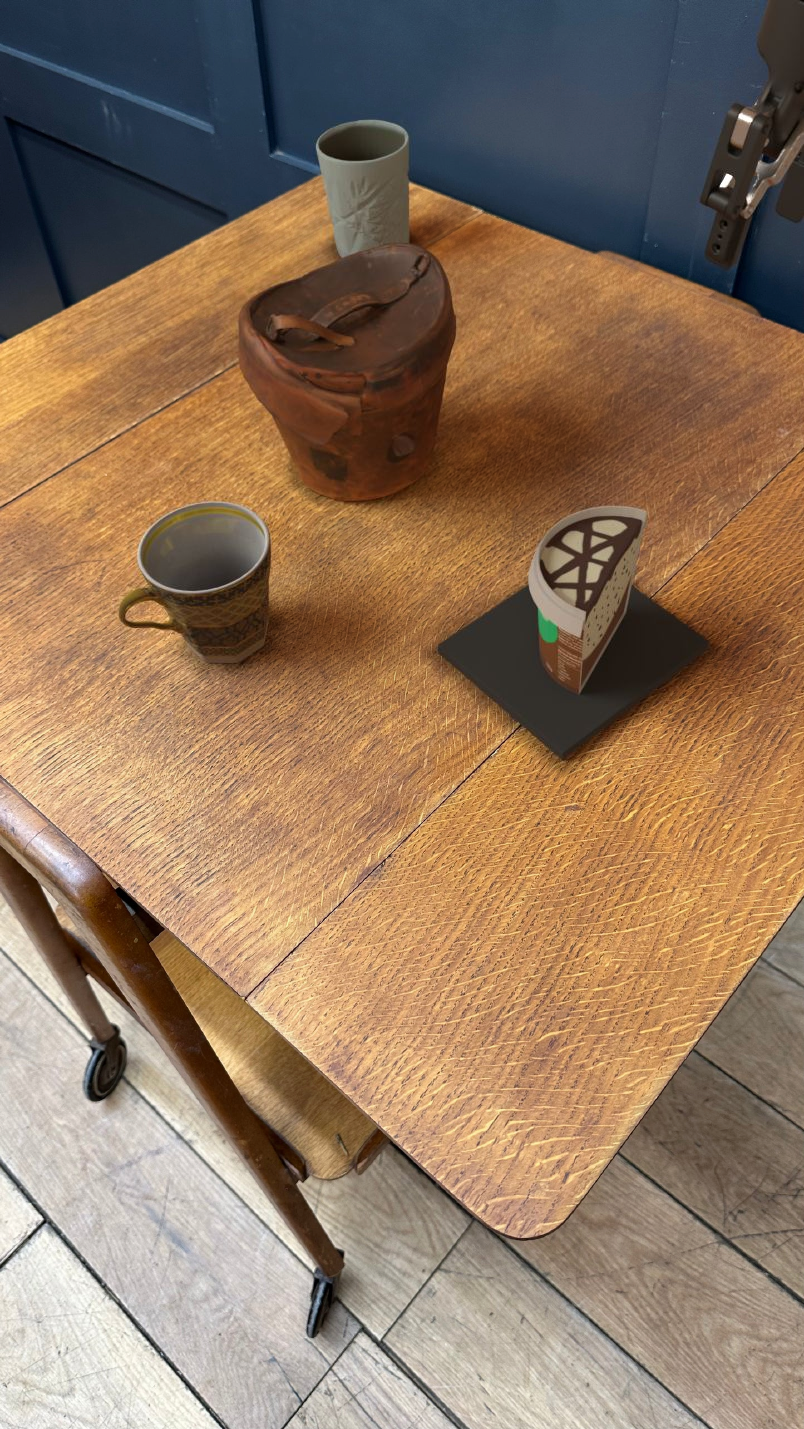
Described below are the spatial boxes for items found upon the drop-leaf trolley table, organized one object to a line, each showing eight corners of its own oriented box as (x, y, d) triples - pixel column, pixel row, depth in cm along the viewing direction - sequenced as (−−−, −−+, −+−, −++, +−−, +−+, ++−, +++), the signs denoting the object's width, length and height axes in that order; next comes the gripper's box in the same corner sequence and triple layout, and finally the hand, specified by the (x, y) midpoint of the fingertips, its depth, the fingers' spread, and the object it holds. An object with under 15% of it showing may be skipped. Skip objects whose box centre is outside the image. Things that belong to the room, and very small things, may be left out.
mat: (580, 557, 88) (581, 549, 87) (708, 649, 81) (710, 641, 80) (437, 652, 82) (437, 644, 81) (562, 760, 75) (563, 752, 75)
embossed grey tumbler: (419, 263, 118) (415, 155, 108) (332, 274, 118) (319, 166, 108) (407, 220, 124) (401, 113, 115) (324, 230, 124) (311, 124, 114)
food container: (562, 576, 85) (572, 482, 77) (632, 601, 83) (649, 506, 75) (496, 679, 79) (499, 588, 71) (571, 708, 77) (582, 617, 69)
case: (225, 504, 94) (181, 329, 80) (325, 381, 105) (302, 207, 91) (400, 555, 89) (387, 376, 75) (487, 420, 100) (490, 241, 86)
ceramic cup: (242, 573, 89) (219, 482, 81) (313, 635, 84) (296, 545, 76) (114, 652, 84) (76, 564, 76) (182, 723, 79) (150, 637, 71)
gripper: (856, -84, 62) (767, 182, 76) (719, -22, 56) (648, 254, 70) (969, -43, 59) (855, 225, 73) (838, 26, 53) (740, 304, 67)
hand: (754, 239), depth 71 cm, fingers open, 8 cm apart
